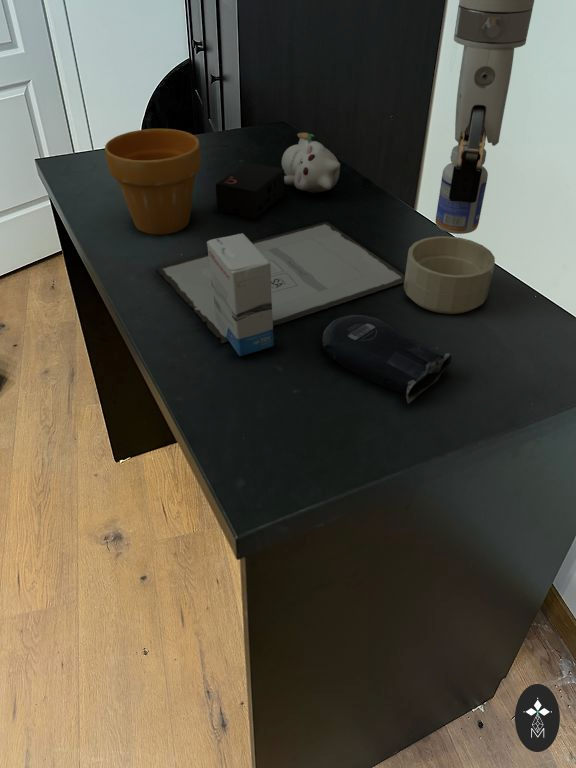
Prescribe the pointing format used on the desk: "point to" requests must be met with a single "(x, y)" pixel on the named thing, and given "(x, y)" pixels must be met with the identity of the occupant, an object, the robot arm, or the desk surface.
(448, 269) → the basin
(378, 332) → the black pouch
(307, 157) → the cat figurine
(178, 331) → the desk surface
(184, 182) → the flower pot
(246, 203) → the electronic device
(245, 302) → the ink box
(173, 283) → the picture frame
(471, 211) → the pill bottle
